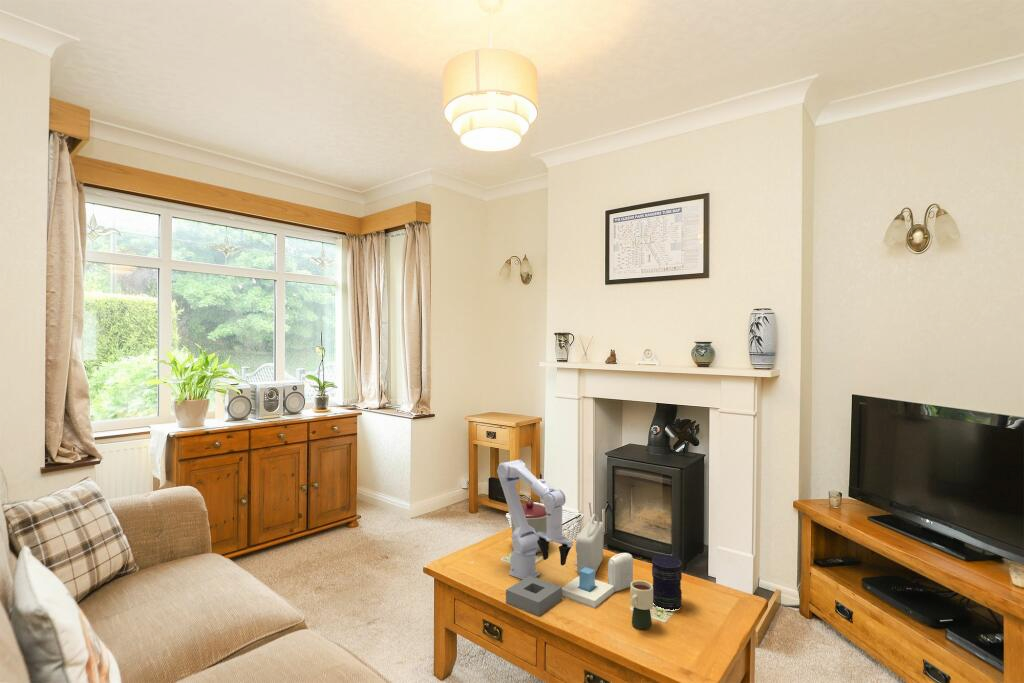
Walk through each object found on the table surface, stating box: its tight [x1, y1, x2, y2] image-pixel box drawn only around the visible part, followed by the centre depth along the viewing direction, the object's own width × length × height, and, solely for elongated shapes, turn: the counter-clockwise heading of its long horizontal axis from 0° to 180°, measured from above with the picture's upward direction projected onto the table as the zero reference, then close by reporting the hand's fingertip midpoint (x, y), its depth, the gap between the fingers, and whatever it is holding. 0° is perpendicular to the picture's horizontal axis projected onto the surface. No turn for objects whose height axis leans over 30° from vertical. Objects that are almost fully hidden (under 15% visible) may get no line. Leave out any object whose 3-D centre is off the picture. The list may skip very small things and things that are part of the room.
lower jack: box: [561, 575, 615, 609], centre depth 186 cm, size 14×14×2 cm
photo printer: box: [607, 552, 634, 593], centre depth 191 cm, size 10×4×12 cm, turn 123°
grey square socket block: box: [505, 576, 563, 617], centre depth 181 cm, size 14×14×4 cm
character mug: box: [629, 579, 654, 630], centre depth 166 cm, size 11×7×13 cm, turn 135°
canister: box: [508, 500, 547, 554], centre depth 226 cm, size 18×18×21 cm
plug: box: [578, 567, 596, 592], centre depth 187 cm, size 4×5×8 cm
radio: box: [574, 501, 605, 575], centre depth 209 cm, size 22×8×25 cm, turn 159°
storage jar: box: [651, 554, 683, 610], centre depth 179 cm, size 10×10×15 cm
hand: (554, 561), depth 189 cm, fingers open, 7 cm apart
